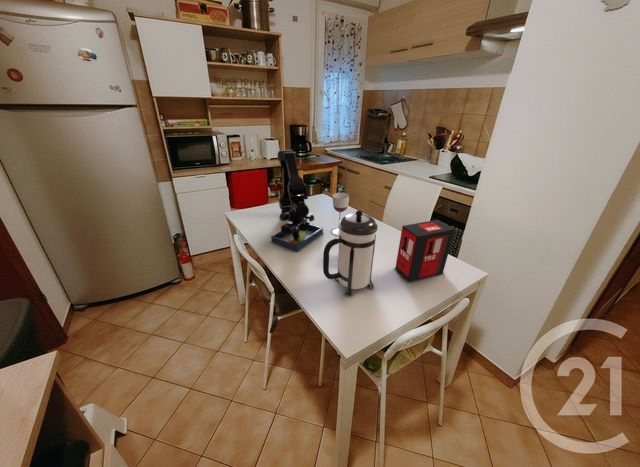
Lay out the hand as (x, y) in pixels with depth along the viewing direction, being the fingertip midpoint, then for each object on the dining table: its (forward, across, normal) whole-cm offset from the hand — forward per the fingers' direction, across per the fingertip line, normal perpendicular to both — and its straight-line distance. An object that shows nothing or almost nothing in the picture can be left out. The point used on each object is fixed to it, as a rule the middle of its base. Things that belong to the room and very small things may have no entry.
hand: (298, 238), depth 127 cm
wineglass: (+2, -20, +12) cm, 23 cm away
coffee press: (+2, +15, +36) cm, 39 cm away
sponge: (+1, 0, 0) cm, 1 cm away
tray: (+2, -3, -3) cm, 4 cm away
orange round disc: (+1, +4, 0) cm, 4 cm away
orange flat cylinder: (+1, +4, -4) cm, 6 cm away
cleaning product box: (+2, -8, +55) cm, 56 cm away
